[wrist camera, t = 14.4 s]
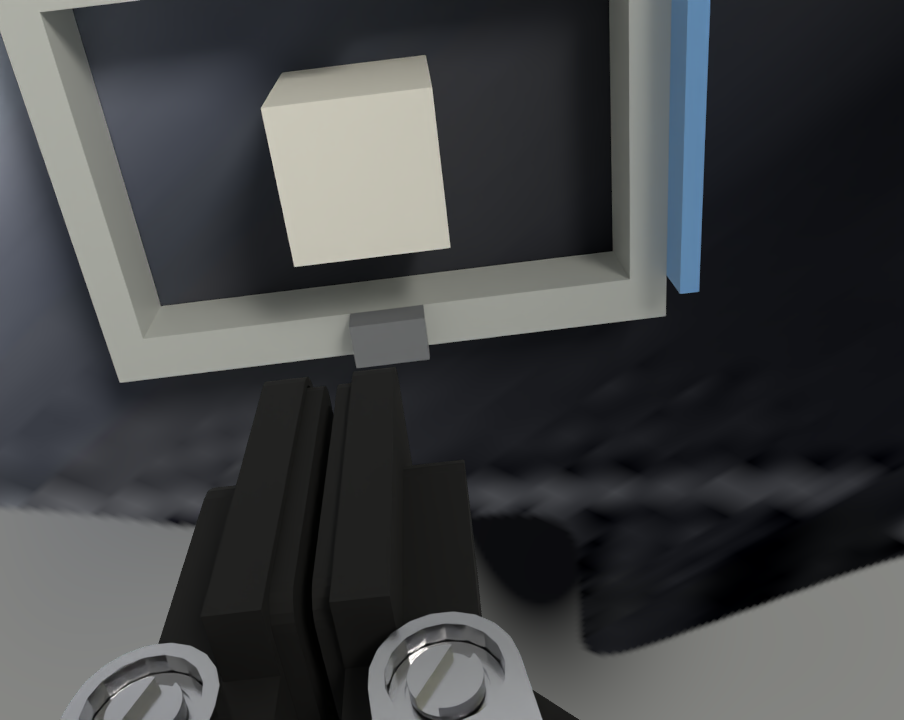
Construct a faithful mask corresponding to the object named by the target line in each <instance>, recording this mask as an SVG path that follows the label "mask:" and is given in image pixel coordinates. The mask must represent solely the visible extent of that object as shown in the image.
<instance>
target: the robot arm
mask: <svg viewBox="0 0 904 720" xmlns="http://www.w3.org/2000/svg"><path fill="white" fill-rule="evenodd" d="M60 720H579V719H577V718H576V717H574V716H573V715H571V714H569V713H568V712H566V711H565V710H563V709H562V708H560V707H558V706H557V705H555V704H554V703H552V702H551V701H549V700H548V699H546V698H545V697H543V696H541V695H540V694H538V693H537V692H535V691H534V690H532V688H531V685H530V682H529V679H528V676H527V673H526V670H525V667H524V664H523V661H522V658H521V655H520V653H519V651H518V649H517V648H516V646H515V644H514V642H513V640H512V639H511V637H510V636H509V635H508V634H507V633H506V632H505V631H504V630H502V629H501V628H500V627H499V626H498V625H497V624H495V623H494V622H492V621H489V620H487V619H484V618H482V615H481V605H480V595H479V585H478V576H477V567H476V557H475V548H474V539H473V530H472V521H471V512H470V504H469V496H468V487H467V479H466V471H465V463H464V460H457V461H448V462H439V463H430V464H421V465H413V466H412V461H411V455H410V449H409V442H408V436H407V430H406V423H405V417H404V411H403V404H402V398H401V392H400V385H399V380H398V374H397V370H396V367H390V368H381V369H373V370H364V371H355V372H353V375H352V383H348V384H339V385H338V387H337V393H336V401H335V409H334V415H333V411H332V406H331V401H330V396H329V392H328V390H327V387H326V386H321V387H313V386H312V383H311V380H310V379H309V377H302V378H294V379H285V380H276V381H267V382H265V383H264V385H263V388H262V392H261V396H260V399H259V403H258V407H257V410H256V414H255V418H254V421H253V425H252V429H251V432H250V436H249V440H248V443H247V447H246V451H245V455H244V458H243V462H242V466H241V469H240V473H239V477H238V480H237V484H236V485H235V486H226V487H217V488H212V489H211V490H209V491H208V492H207V494H206V497H205V499H204V501H203V505H202V508H201V511H200V514H199V517H198V520H197V524H196V527H195V530H194V533H193V536H192V540H191V543H190V546H189V549H188V553H187V555H186V559H185V562H184V565H183V568H182V571H181V574H180V577H179V581H178V584H177V587H176V590H175V593H174V596H173V600H172V603H171V606H170V610H169V612H168V615H167V619H166V622H165V625H164V628H163V631H162V635H161V638H160V641H159V644H156V645H148V646H145V647H143V648H140V649H137V650H134V651H131V652H128V653H125V654H124V655H122V656H120V657H118V658H117V659H115V660H113V661H112V662H110V663H108V664H106V665H105V666H103V667H102V668H101V669H100V670H99V671H98V672H96V673H95V674H94V675H93V676H92V677H90V678H89V679H88V680H87V681H86V682H85V683H84V684H83V686H82V687H81V688H80V689H79V691H78V692H77V693H76V695H75V696H74V698H73V699H72V700H71V701H70V703H69V705H68V706H67V708H66V710H65V712H64V714H63V715H62V717H61V719H60Z"/></svg>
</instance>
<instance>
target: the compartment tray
mask: <svg viewBox="0 0 904 720" xmlns="http://www.w3.org/2000/svg"><path fill="white" fill-rule="evenodd" d="M129 1H138V0H0V32H1V35H2V38H3V41H4V44H5V47H6V50H7V53H8V56H9V59H10V62H11V65H12V68H13V71H14V73H15V76H16V79H17V82H18V85H19V88H20V91H21V94H22V97H23V100H24V103H25V106H26V109H27V112H28V115H29V117H30V120H31V123H32V126H33V129H34V132H35V135H36V138H37V141H38V144H39V147H40V150H41V153H42V156H43V159H44V162H45V164H46V167H47V170H48V173H49V176H50V179H51V182H52V185H53V188H54V191H55V194H56V197H57V200H58V203H59V206H60V208H61V211H62V214H63V217H64V220H65V223H66V226H67V229H68V232H69V235H70V238H71V241H72V244H73V247H74V250H75V253H76V255H77V258H78V261H79V264H80V267H81V270H82V273H83V276H84V279H85V282H86V285H87V288H88V291H89V294H90V297H91V299H92V302H93V305H94V308H95V311H96V314H97V317H98V320H99V323H100V326H101V329H102V332H103V335H104V338H105V341H106V344H107V346H108V349H109V352H110V355H111V358H112V361H113V364H114V367H115V370H116V373H117V376H118V379H119V382H120V383H122V382H130V381H139V380H147V379H155V378H163V377H171V376H179V375H188V374H196V373H204V372H212V371H220V370H228V369H237V368H245V367H253V366H261V365H269V364H278V363H286V362H294V361H302V360H310V359H318V358H327V357H335V356H343V355H351V354H354V357H355V363H356V368H363V367H372V366H380V365H388V364H396V363H404V362H412V361H421V360H429V359H430V354H429V345H433V344H441V343H449V342H457V341H466V340H474V339H482V338H490V337H498V336H506V335H515V334H523V333H531V332H539V331H547V330H555V329H564V328H572V327H580V326H588V325H596V324H605V323H613V322H621V321H629V320H637V319H645V318H654V317H662V316H666V275H667V276H668V278H669V279H670V281H671V282H672V283H673V285H674V286H675V288H676V289H677V290H678V292H679V293H680V294H684V293H692V292H699V281H700V255H701V230H702V204H703V178H704V152H705V126H706V100H707V74H708V49H709V23H710V0H609V29H610V97H611V165H612V234H613V251H610V252H601V253H593V254H585V255H577V256H569V257H560V258H552V259H544V260H536V261H528V262H519V263H511V264H503V265H495V266H487V267H478V268H470V269H462V270H454V271H446V272H437V273H429V274H421V275H413V276H405V277H396V278H388V279H380V280H372V281H364V282H355V283H347V284H339V285H331V286H323V287H314V288H306V289H298V290H290V291H282V292H273V293H265V294H257V295H249V296H241V297H232V298H224V299H216V300H208V301H200V302H191V303H183V304H175V305H167V306H161V305H160V301H159V298H158V295H157V291H156V288H155V285H154V281H153V278H152V274H151V271H150V268H149V264H148V261H147V258H146V254H145V251H144V248H143V244H142V241H141V238H140V234H139V231H138V228H137V224H136V221H135V218H134V214H133V211H132V207H131V204H130V201H129V197H128V194H127V191H126V187H125V184H124V181H123V177H122V174H121V171H120V167H119V164H118V161H117V157H116V154H115V151H114V147H113V144H112V141H111V137H110V134H109V130H108V127H107V124H106V120H105V117H104V114H103V110H102V107H101V104H100V100H99V97H98V94H97V90H96V87H95V84H94V80H93V77H92V74H91V70H90V67H89V63H88V60H87V57H86V53H85V50H84V47H83V43H82V40H81V37H80V33H79V30H78V27H77V23H76V20H75V17H74V13H73V10H72V8H80V7H88V6H96V5H104V4H113V3H121V2H129Z"/></svg>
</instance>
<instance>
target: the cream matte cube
mask: <svg viewBox="0 0 904 720" xmlns="http://www.w3.org/2000/svg"><path fill="white" fill-rule="evenodd" d="M261 112H262V116H263V121H264V126H265V131H266V135H267V140H268V145H269V150H270V154H271V159H272V164H273V168H274V173H275V178H276V183H277V187H278V192H279V197H280V202H281V206H282V211H283V216H284V220H285V225H286V230H287V235H288V239H289V244H290V249H291V253H292V258H293V263H294V267H299V266H307V265H315V264H323V263H332V262H340V261H348V260H356V259H364V258H372V257H380V256H388V255H397V254H405V253H413V252H421V251H429V250H437V249H445V248H450V239H449V231H448V222H447V213H446V204H445V196H444V187H443V178H442V170H441V161H440V152H439V143H438V135H437V126H436V117H435V109H434V100H433V91H432V85H431V79H430V74H429V69H428V64H427V59H426V55H421V56H413V57H404V58H396V59H388V60H380V61H372V62H364V63H356V64H347V65H339V66H331V67H323V68H315V69H307V70H299V71H291V72H282V73H281V75H280V77H279V78H278V80H277V82H276V83H275V85H274V87H273V88H272V90H271V92H270V93H269V95H268V97H267V99H266V100H265V102H264V104H263V105H262V107H261Z"/></svg>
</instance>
